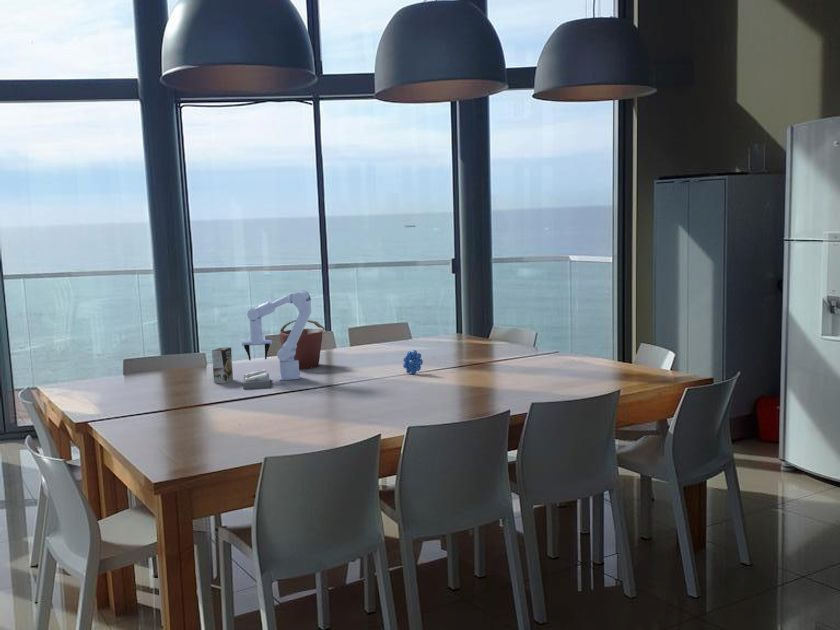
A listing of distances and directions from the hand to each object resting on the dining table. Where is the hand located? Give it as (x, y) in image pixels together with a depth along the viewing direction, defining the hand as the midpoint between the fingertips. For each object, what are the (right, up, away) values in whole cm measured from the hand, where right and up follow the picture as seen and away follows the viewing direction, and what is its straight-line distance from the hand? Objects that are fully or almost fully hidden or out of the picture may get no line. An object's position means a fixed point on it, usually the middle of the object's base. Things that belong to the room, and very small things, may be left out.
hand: (257, 359), depth 410 cm
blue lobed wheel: (+77, -7, -2) cm, 77 cm away
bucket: (+18, -6, +30) cm, 35 cm away
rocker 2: (+3, -8, -19) cm, 21 cm away
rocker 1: (+1, -7, -8) cm, 11 cm away
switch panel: (+2, -11, -13) cm, 17 cm away
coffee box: (-16, -11, -3) cm, 20 cm away
